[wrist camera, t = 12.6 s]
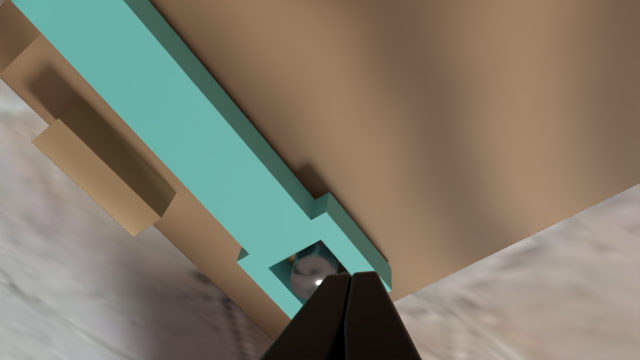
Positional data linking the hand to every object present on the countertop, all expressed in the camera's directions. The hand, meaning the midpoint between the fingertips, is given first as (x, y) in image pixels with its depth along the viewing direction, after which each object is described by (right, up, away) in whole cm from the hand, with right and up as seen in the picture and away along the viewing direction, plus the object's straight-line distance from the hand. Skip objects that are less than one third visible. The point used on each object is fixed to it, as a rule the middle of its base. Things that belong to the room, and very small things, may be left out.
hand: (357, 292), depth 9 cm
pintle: (-1, -1, +15) cm, 15 cm away
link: (-5, +4, +11) cm, 13 cm away
